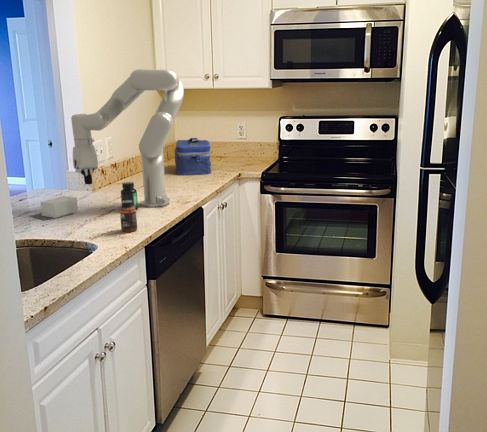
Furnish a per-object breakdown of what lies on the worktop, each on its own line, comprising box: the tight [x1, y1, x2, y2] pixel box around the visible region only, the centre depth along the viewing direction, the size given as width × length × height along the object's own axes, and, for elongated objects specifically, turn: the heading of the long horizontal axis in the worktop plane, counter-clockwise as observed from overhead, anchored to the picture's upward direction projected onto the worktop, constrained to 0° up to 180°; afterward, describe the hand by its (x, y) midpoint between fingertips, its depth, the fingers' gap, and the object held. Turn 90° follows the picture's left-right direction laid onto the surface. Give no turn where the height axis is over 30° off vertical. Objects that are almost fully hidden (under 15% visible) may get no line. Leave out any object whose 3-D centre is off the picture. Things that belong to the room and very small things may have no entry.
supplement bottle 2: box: [119, 200, 138, 233], centre depth 210 cm, size 6×6×11 cm
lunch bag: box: [174, 137, 212, 177], centre depth 333 cm, size 31×21×20 cm
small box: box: [40, 195, 79, 219], centre depth 238 cm, size 8×6×13 cm
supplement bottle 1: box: [120, 181, 139, 211], centre depth 242 cm, size 7×7×12 cm
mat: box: [28, 212, 75, 221], centre depth 238 cm, size 12×14×1 cm
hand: (88, 183), depth 248 cm, fingers closed
